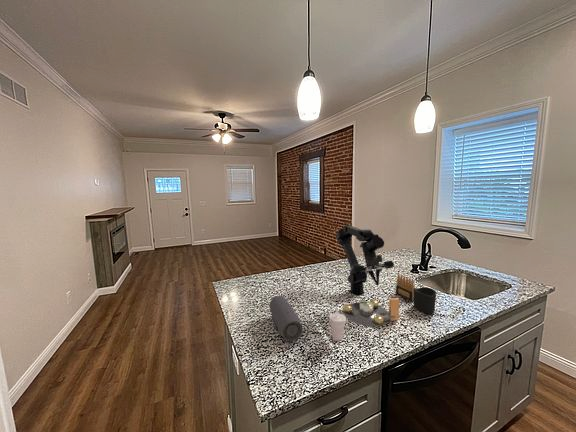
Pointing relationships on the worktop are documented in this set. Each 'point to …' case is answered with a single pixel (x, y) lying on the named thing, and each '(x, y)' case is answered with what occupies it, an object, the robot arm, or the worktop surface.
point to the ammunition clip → (405, 288)
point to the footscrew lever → (392, 312)
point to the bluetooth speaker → (285, 319)
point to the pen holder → (424, 300)
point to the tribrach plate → (367, 319)
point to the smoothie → (337, 325)
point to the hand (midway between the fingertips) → (377, 285)
